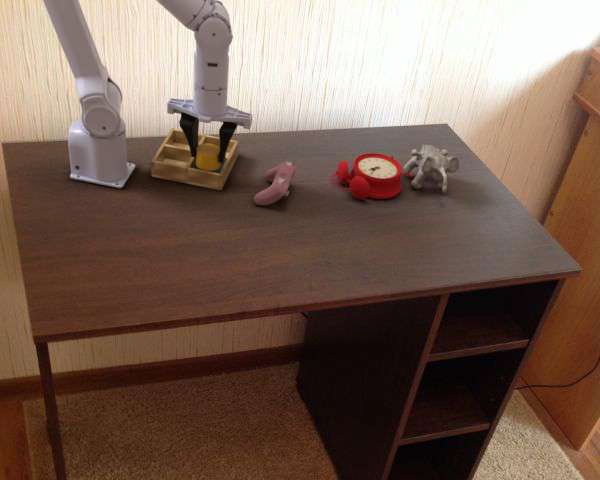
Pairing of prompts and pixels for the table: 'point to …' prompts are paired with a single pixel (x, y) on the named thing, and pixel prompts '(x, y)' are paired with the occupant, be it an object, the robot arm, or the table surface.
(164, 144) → the grid
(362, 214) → the table surface
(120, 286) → the table surface
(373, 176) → the alarm clock
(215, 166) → the yellow cylinder
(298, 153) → the table surface
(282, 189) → the pink curved piece
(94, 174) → the robot arm
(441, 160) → the gray elephant figurine
